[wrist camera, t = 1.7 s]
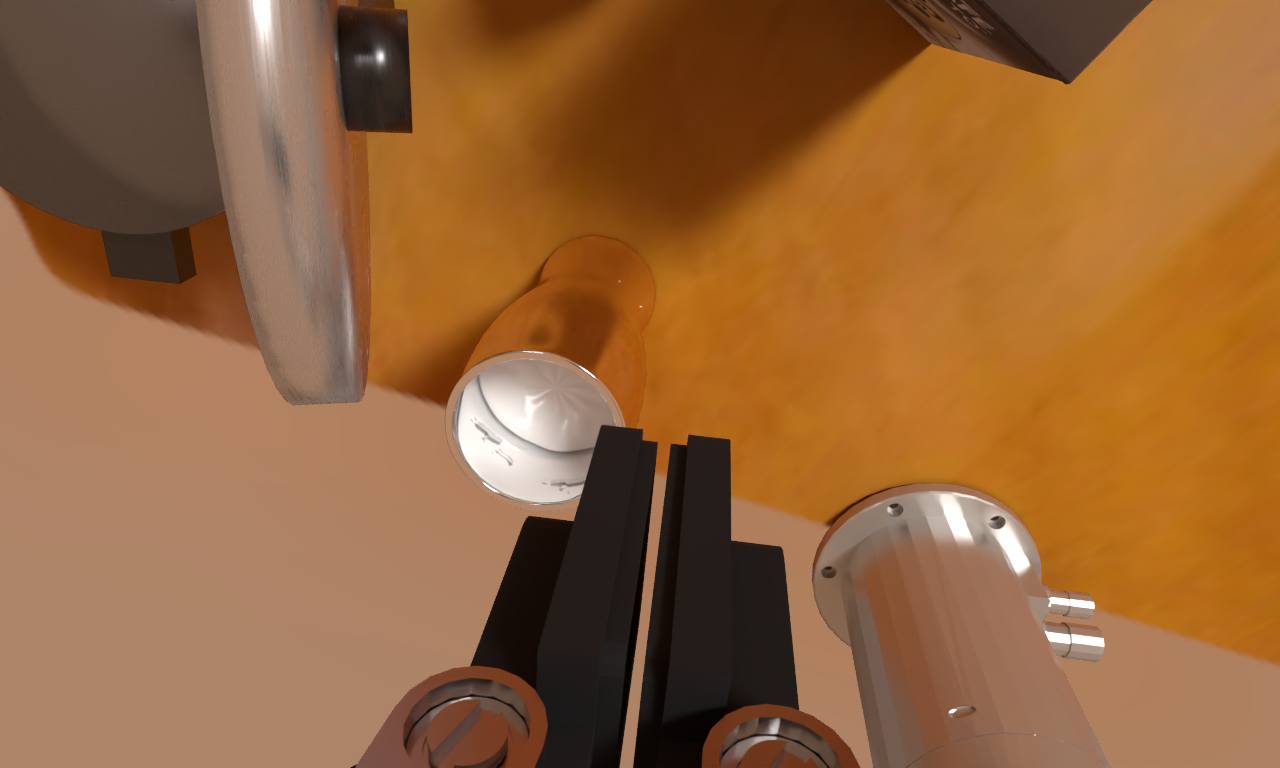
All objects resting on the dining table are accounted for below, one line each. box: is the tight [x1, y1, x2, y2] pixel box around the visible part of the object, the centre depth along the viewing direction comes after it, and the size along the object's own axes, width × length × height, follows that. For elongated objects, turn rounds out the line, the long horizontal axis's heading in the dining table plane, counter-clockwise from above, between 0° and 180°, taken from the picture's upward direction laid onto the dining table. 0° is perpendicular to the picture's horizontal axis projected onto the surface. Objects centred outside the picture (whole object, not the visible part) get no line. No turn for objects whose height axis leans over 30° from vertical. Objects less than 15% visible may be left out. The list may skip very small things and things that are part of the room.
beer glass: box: [445, 236, 656, 512], centre depth 35 cm, size 7×7×15 cm
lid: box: [195, 0, 412, 405], centre depth 21 cm, size 18×17×4 cm
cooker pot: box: [0, 0, 395, 284], centre depth 33 cm, size 18×21×10 cm
